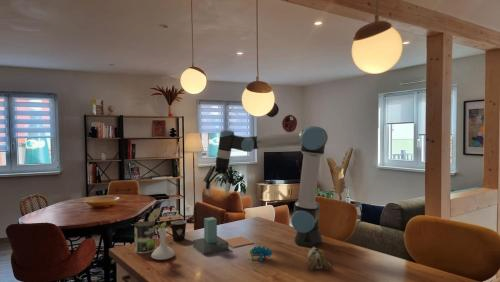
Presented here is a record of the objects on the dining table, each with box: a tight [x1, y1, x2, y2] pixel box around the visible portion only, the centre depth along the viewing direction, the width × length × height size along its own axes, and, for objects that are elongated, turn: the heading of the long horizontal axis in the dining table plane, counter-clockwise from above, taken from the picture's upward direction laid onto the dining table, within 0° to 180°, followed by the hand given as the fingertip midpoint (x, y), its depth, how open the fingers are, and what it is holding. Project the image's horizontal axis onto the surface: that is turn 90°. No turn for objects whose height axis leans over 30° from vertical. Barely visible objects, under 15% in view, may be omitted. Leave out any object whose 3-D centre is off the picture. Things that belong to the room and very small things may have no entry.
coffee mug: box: [164, 219, 187, 242], centre depth 191 cm, size 12×9×10 cm
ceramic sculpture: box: [306, 247, 333, 271], centre depth 149 cm, size 11×9×15 cm
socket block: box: [192, 235, 230, 256], centre depth 175 cm, size 14×14×4 cm
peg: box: [203, 216, 218, 244], centre depth 175 cm, size 5×5×16 cm
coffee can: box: [133, 220, 156, 254], centre depth 173 cm, size 10×10×14 cm
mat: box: [224, 235, 254, 249], centre depth 185 cm, size 13×13×1 cm
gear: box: [249, 245, 273, 263], centre depth 158 cm, size 11×6×10 cm
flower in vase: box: [147, 207, 176, 261], centre depth 162 cm, size 13×11×25 cm
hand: (217, 194), depth 187 cm, fingers open, 13 cm apart
